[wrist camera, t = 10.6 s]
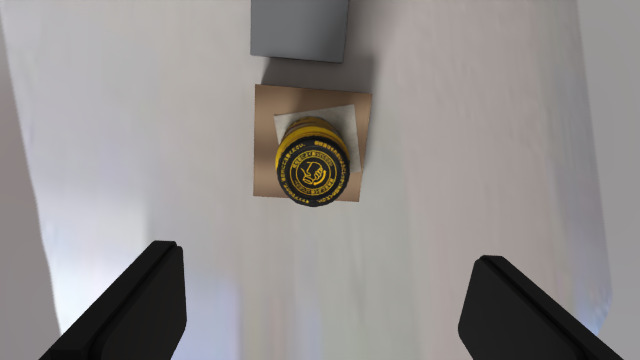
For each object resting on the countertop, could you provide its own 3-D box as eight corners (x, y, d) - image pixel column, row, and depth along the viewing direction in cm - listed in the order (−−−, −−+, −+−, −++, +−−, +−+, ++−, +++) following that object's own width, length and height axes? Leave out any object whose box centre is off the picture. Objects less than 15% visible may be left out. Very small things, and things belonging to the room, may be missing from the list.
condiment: (273, 116, 32) (256, 132, 20) (353, 104, 32) (382, 113, 20) (285, 181, 34) (276, 230, 22) (360, 170, 34) (390, 213, 22)
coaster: (253, -51, 31) (251, -56, 30) (351, -40, 31) (352, -44, 30) (251, 55, 33) (250, 54, 32) (341, 63, 34) (342, 62, 33)
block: (260, 84, 34) (255, 84, 31) (364, 93, 35) (372, 93, 31) (258, 185, 38) (253, 196, 34) (353, 190, 39) (358, 201, 35)
